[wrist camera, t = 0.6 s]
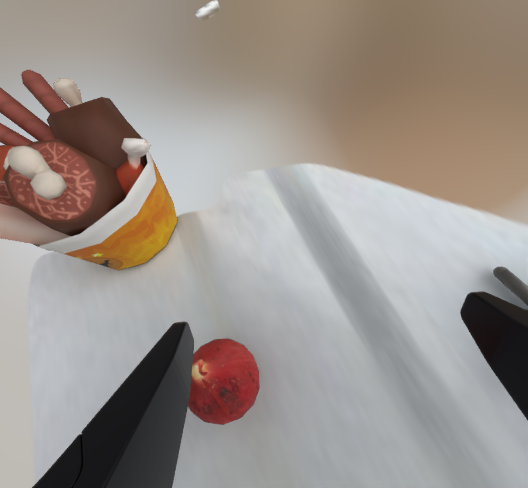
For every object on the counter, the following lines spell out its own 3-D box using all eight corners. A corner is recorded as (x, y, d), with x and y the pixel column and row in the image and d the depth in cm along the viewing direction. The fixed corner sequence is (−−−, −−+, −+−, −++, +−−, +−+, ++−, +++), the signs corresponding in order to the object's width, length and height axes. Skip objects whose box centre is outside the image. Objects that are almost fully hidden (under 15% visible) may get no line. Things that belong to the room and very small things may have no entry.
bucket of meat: (223, 229, 34) (106, 59, 17) (115, 323, 30) (-151, 222, 14) (157, 169, 45) (47, 31, 28) (73, 234, 41) (-105, 119, 25)
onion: (283, 384, 23) (256, 372, 16) (234, 440, 21) (184, 452, 15) (241, 335, 26) (205, 310, 19) (196, 382, 25) (141, 371, 18)
